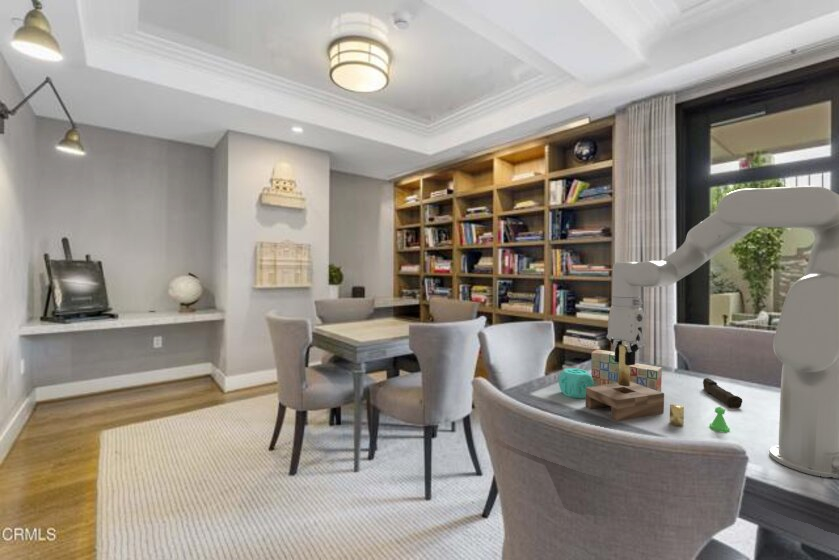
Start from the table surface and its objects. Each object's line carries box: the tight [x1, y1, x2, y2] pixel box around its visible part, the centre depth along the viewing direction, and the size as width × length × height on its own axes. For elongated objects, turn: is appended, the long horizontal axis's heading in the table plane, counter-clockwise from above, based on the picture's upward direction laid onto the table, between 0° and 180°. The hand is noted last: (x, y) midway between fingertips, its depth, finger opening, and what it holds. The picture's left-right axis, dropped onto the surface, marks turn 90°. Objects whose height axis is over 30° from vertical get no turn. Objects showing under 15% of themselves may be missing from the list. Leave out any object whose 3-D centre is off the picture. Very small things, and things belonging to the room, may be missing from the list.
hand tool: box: [702, 377, 743, 409], centre depth 127 cm, size 19×4×5 cm, turn 165°
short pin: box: [669, 403, 685, 427], centre depth 107 cm, size 3×3×5 cm
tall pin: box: [618, 343, 631, 386], centre depth 117 cm, size 3×3×12 cm
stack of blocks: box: [590, 349, 663, 392], centre depth 137 cm, size 21×6×12 cm, turn 45°
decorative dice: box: [558, 367, 595, 399], centre depth 131 cm, size 8×8×8 cm
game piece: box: [709, 406, 731, 433], centre depth 104 cm, size 4×4×6 cm
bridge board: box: [585, 382, 665, 422], centre depth 117 cm, size 12×18×6 cm, turn 109°
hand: (624, 362), depth 117 cm, fingers closed on tall pin, 3 cm apart
